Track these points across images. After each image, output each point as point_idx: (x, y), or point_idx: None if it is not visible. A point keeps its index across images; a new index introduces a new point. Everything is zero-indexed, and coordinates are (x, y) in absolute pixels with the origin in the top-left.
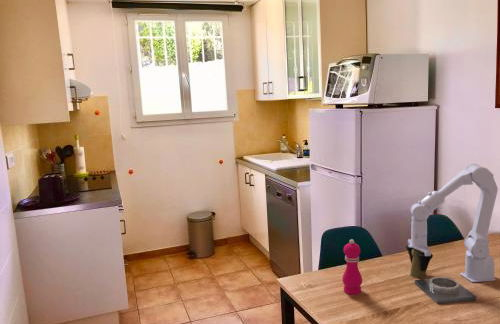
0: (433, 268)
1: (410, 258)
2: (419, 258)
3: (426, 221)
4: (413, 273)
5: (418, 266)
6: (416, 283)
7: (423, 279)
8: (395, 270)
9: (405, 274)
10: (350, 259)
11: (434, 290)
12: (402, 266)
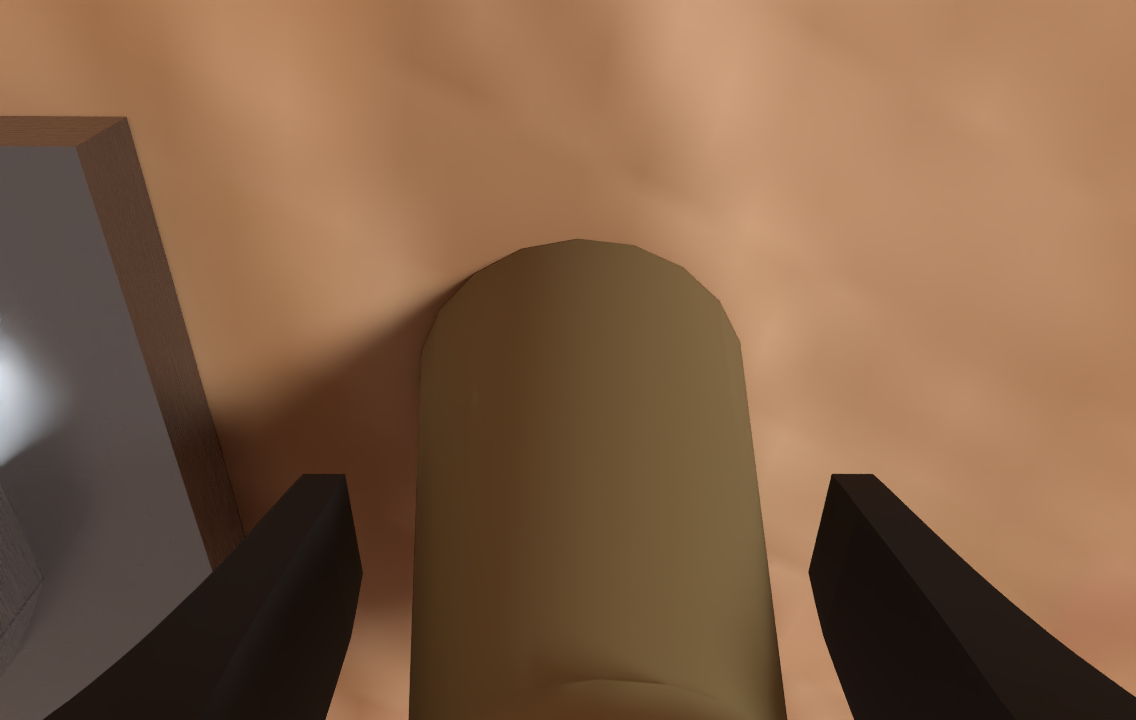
0: (784, 696)
1: (925, 561)
2: None
3: None
4: (508, 303)
5: (422, 522)
6: (5, 130)
7: (128, 358)
8: (1011, 4)
9: (688, 151)
10: None
11: None
12: (1125, 291)
